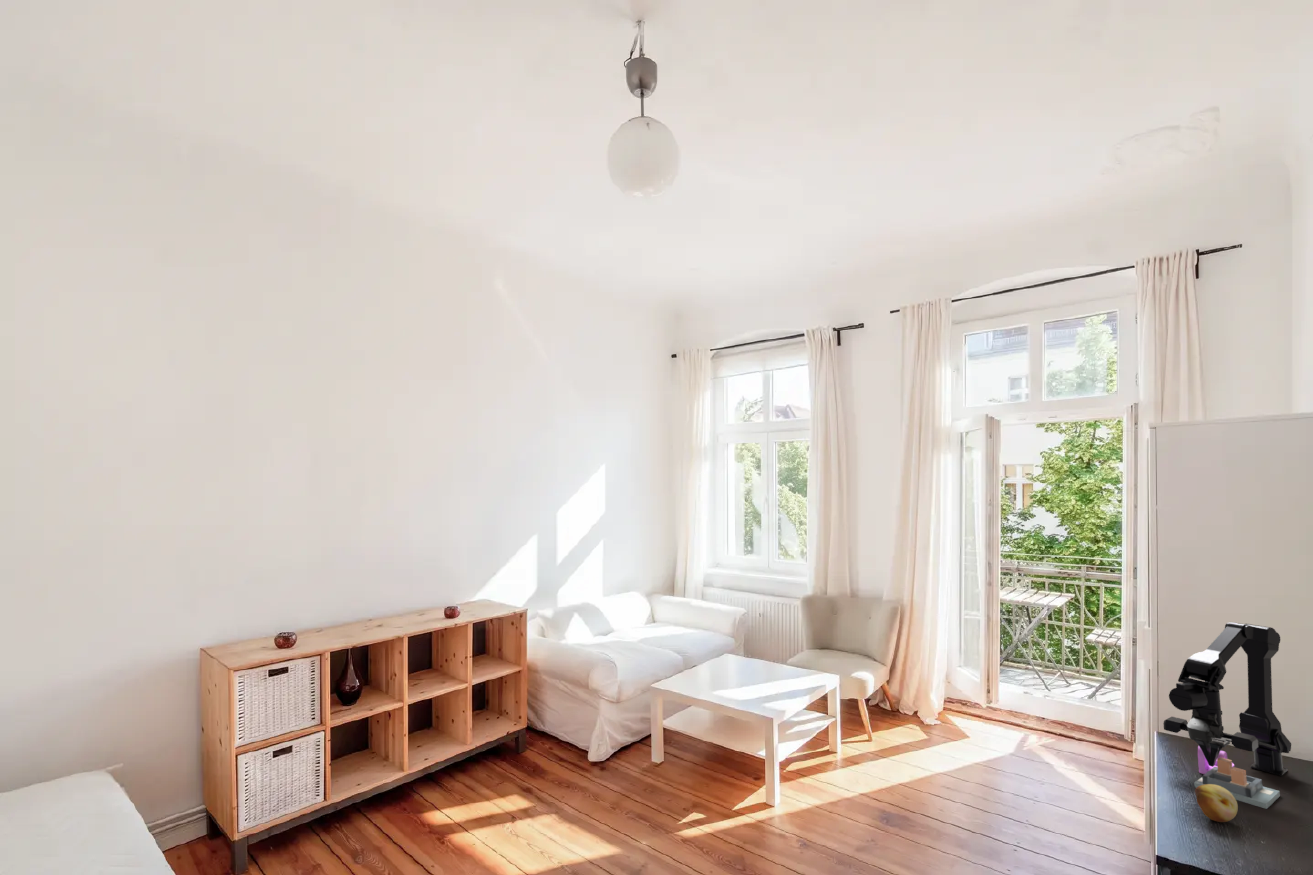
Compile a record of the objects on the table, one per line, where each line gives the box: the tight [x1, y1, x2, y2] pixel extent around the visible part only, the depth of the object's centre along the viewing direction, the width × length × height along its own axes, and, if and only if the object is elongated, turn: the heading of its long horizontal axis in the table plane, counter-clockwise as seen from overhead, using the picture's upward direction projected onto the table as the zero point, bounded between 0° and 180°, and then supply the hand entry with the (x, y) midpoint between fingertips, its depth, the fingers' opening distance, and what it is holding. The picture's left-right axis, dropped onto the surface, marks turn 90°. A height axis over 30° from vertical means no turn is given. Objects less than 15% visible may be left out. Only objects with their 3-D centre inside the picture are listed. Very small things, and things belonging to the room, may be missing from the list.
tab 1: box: [1217, 757, 1233, 776], centre depth 167 cm, size 3×3×5 cm
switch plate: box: [1194, 767, 1281, 810], centre depth 164 cm, size 12×14×3 cm
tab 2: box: [1230, 766, 1249, 787], centre depth 161 cm, size 3×3×5 cm
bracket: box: [1197, 745, 1235, 775], centre depth 177 cm, size 13×6×7 cm, turn 127°
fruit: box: [1194, 784, 1239, 823], centre depth 149 cm, size 8×8×8 cm
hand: (1211, 765), depth 170 cm, fingers closed
